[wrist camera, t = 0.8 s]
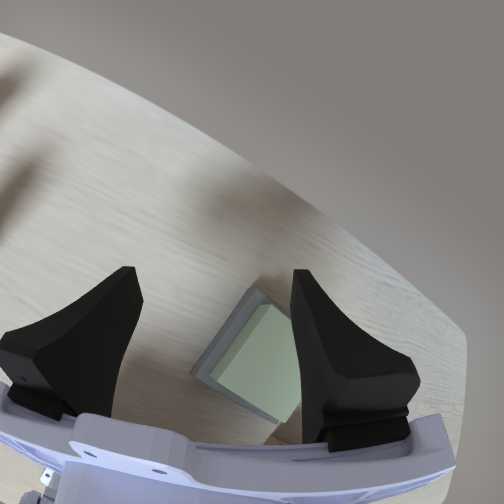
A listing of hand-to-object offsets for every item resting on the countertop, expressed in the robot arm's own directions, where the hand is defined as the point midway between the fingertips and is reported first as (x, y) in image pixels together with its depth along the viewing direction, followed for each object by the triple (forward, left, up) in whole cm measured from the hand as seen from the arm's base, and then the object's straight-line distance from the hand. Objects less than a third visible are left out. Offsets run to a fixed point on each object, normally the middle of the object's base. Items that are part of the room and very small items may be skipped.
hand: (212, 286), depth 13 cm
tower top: (0, -11, -12) cm, 16 cm away
